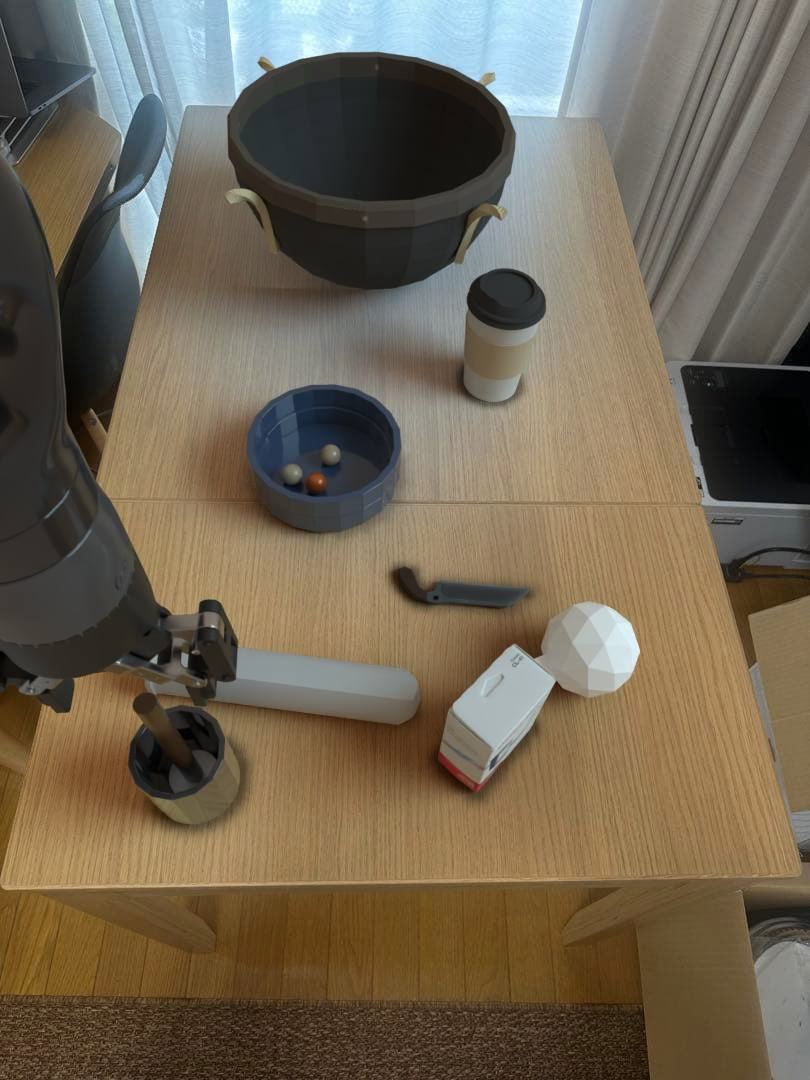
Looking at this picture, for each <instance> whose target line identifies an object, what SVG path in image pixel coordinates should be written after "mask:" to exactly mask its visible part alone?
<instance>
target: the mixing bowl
mask: <svg viewBox="0 0 810 1080" xmlns="http://www.w3.org/2000/svg"><path fill="white" fill-rule="evenodd" d="M329 444H332V445H335V446H337V447H338V448H339V450H340V452H341V459H340V461H339V462H338V463H337V464H335V465H332V466H330V465H326V464H324V463H323V462H322V460H321V458H320V451H321V449H322V448H323V447H324V446H326V445H329ZM402 446H403V445H402V437H401V428H400V427H399V425H398V422H397V421H396V418H395V417H394V415H393V413H392V412H391V411H390V410H389V409H388V408H387V407H386V406H385V405H383V403H382V402H381V401H380V400H378V399H377V398H376V397H374V396H372V395H370V394H367V393H366V392H364V391H362V390H360V389H357V388H354V387H349V386H345V385H339V384H334V383H333V384H331V383H330V384H328V383H327V384H325V383H324V384H309V385H306V386H301V387H297V388H293V389H290V390H287V391H285V392H284V393H282V394H280V395H279V396H276V397H274V398H273V399H271V400H270V401H269V402H268V403H267V404H265V405H264V406H263V407H262V409H260V410H259V411H258V413H256V415H255V416H254V418H253V419H252V422H251V424H250V426H249V428H248V430H247V432H246V446H245V447H246V448H245V453H246V457H247V463H248V467H249V471H250V477H251V482H252V485H253V488H254V491H255V493H256V496H257V498H258V501H259V502H260V503H261V504H262V506H264V507H265V508H266V510H267V511H268V512H269V513H270V514H271V515H272V516H273V517H275V518H277V519H278V520H280V521H282V522H284V523H286V524H288V525H289V526H292V527H294V528H298V529H302V530H306V531H311V532H319V533H321V532H340V531H344V530H347V529H350V528H355V527H357V526H360V525H363V524H365V523H366V522H368V521H369V520H371V519H373V518H374V517H375V516H377V515H379V514H380V513H382V511H383V510H384V509H385V508H386V506H387V505H388V504H389V503H390V501H391V500H392V499H393V498H394V496H395V494H396V491H397V487H398V484H399V481H400V475H401V474H400V473H401V463H402V449H403V447H402ZM287 464H296V465H298V466H299V467H300V468H301V470H302V473H303V476H302V479H301V481H300V482H299V483H298V484H295V485H288V484H286V483H285V482H284V481H283V480H282V478H281V471H282V469H283V467H284V466H285V465H287ZM315 472H317V473H321V474H322V475H324V477H325V478H326V481H327V486H326V489H325V490H324V491H323V492H322V493H320V494H313V493H310V492H309V491H308V490H307V488H306V486H305V480H306V478H307V476H308V475H310V474H311V473H315Z"/></svg>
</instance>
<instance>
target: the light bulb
mask: <svg viewBox="0 0 810 1080" xmlns="http://www.w3.org/2000/svg"><path fill="white" fill-rule="evenodd" d="M540 649H541V654H542V655H540V656H537V657H535V658H533V659H534V660H536V661H537V662H538V663H539V664H540V665H541V666H543V667H544V668H545V669H546V670H547V671H548V672H549V673H550V674H551V675H552V676H553V677H554V678H555V679H556V682H557V683H558V684H559V685H560V687H561V688H562V689H563V690H566V691H567V692H568V691H569V692H571V693H573V694H576V695H579V696H582V697H584V698H587V699H591V698H595V697H599V696H604V695H607V694H611V693H615V692H616V691H617V690H618V689H620V687H621V686H622V685H624V684H625V683H626V682H627V681H628V680H629V679H630V678H631V676H632V675H633V673H634V670H635V668H636V664H637V661H638V659H639V657H640V653H641V650H640V647H639V643H638V641H637V638H636V635H635V631H634V629H633V626H632V623H631V622H630V621H629V620H627V618H625V617H624V616H622V614H620V613H619V611H617V610H615V609H614V608H611V607H610V606H608V605H605V604H602V603H598V602H594V601H593V600H592V601H591V600H589V601H583V602H579V603H573V604H572V605H570V606H568V607H567V608H565V609H563V610H562V611H561V612H559V613H558V614H557V615H555V616H554V617H552V618H551V619H549V620H548V624H547V626H546V629H545V632H544V635H543V639H542V641H541V644H540Z"/></svg>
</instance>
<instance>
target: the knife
mask: <svg viewBox="0 0 810 1080" xmlns="http://www.w3.org/2000/svg"><path fill="white" fill-rule="evenodd" d="M397 579H398V581H399V582H400V584H401V586H402V588H404V590H405V591H406V592H407V594H408V595H409V596H410V597H412V598H413V599H414V600H416V601H419V602H422V603H428V604H433V605H446V604H450V605H451V604H454V605H465V606H476V607H488V608H500V609H506V608H508V607H510V606H513V605H515V604H516V603H518V602H519V601H520V600H521V599H523V598H524V597H526V596H527V594H528V593H530V591H531V587H524V586H513V585H503V584H491V583H480V582H479V583H477V582H466V581H455V580H443V579H439V580H438V581H437V582H436V583H435V588H434V589H433V591H432V590H431V591H428V590H425V589H423V588H421V587H420V585H419V583H418V580H417V578H416V575H415V573H414V571H413V570H412V569H411V568H409V567H407V566H403V567H400V568H398V571H397ZM434 598H437V600H435V599H434Z"/></svg>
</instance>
